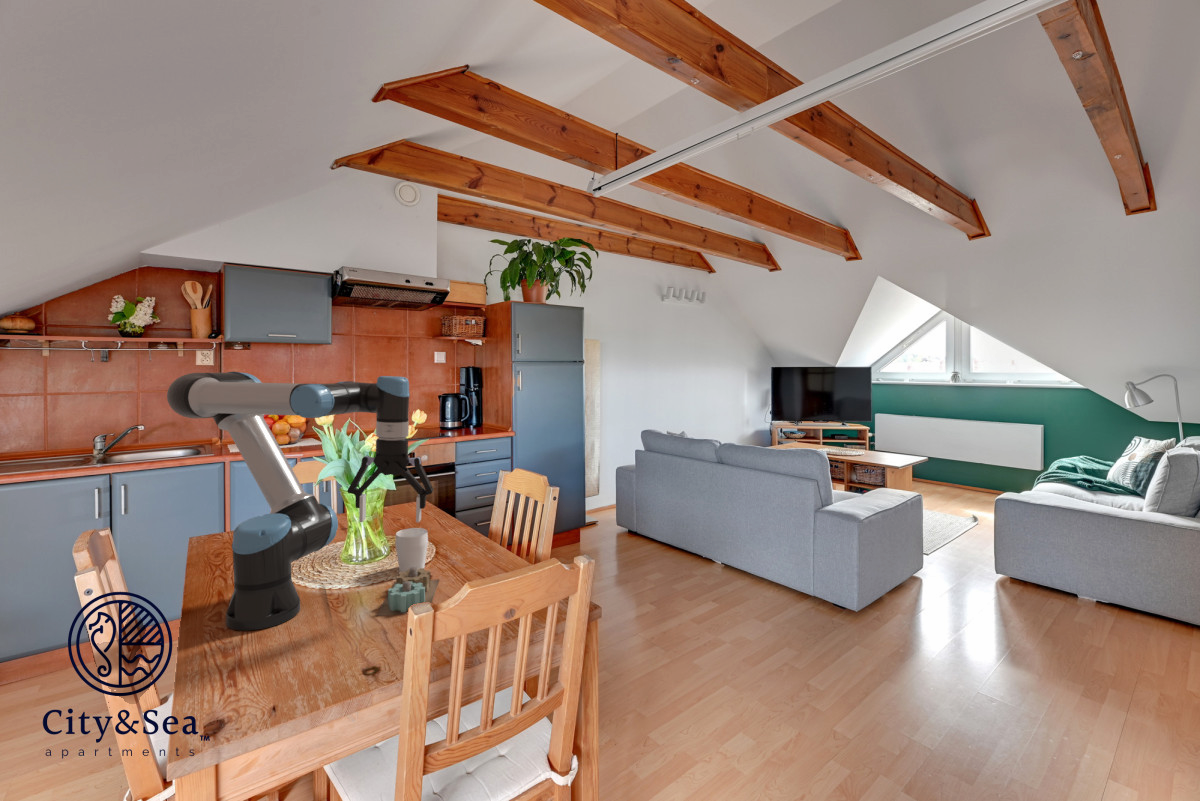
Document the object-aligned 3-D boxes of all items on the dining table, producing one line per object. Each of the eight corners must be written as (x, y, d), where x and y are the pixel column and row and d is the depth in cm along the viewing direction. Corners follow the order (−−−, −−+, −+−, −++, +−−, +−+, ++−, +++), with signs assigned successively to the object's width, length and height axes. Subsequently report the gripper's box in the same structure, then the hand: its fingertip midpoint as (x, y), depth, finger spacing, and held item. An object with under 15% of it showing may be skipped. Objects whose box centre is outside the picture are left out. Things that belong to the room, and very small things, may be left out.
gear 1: (400, 598, 135) (399, 583, 135) (393, 586, 142) (393, 571, 142) (434, 591, 139) (434, 576, 139) (426, 579, 147) (425, 565, 146)
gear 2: (392, 597, 135) (392, 582, 135) (427, 595, 137) (427, 580, 137) (384, 613, 127) (384, 597, 127) (421, 611, 128) (421, 595, 128)
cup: (417, 580, 149) (417, 538, 149) (389, 577, 151) (388, 536, 150) (434, 568, 158) (433, 529, 157) (406, 565, 160) (406, 526, 159)
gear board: (376, 620, 126) (375, 593, 125) (394, 585, 145) (394, 562, 145) (428, 617, 128) (428, 590, 127) (439, 583, 147) (439, 560, 147)
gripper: (334, 438, 127) (333, 525, 128) (441, 441, 130) (439, 525, 132) (344, 434, 134) (343, 515, 136) (445, 437, 138) (443, 516, 139)
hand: (390, 520), depth 134 cm, fingers open, 13 cm apart
